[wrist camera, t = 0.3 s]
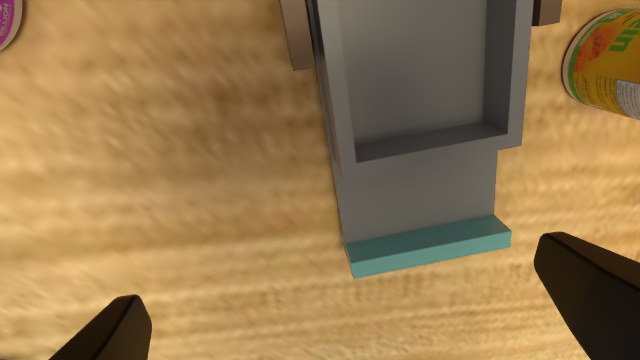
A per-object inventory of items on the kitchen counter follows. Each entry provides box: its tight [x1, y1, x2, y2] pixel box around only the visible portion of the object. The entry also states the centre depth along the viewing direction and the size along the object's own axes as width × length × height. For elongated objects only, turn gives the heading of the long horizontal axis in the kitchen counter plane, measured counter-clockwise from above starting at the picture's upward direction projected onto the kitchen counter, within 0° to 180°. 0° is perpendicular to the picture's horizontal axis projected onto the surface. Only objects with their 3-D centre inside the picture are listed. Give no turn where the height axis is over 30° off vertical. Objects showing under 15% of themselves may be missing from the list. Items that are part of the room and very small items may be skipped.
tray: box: [306, 0, 534, 279], centre depth 20 cm, size 17×10×4 cm, turn 9°
